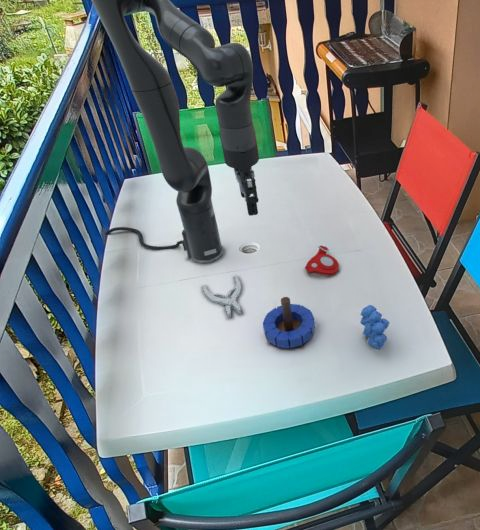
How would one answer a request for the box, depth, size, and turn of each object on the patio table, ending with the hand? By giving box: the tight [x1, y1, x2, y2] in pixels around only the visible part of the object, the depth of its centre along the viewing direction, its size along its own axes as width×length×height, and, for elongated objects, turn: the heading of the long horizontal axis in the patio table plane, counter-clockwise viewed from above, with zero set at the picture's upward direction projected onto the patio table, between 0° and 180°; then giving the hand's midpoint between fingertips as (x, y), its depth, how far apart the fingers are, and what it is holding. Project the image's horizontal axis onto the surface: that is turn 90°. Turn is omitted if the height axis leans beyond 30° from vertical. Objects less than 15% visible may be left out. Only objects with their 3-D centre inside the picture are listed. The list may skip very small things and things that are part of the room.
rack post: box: [270, 296, 304, 347], centre depth 121 cm, size 8×8×12 cm
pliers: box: [202, 275, 243, 319], centre depth 133 cm, size 10×2×15 cm
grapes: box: [359, 304, 390, 350], centre depth 119 cm, size 12×7×12 cm, turn 23°
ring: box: [262, 303, 316, 349], centre depth 123 cm, size 12×12×3 cm
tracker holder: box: [304, 244, 340, 276], centre depth 144 cm, size 12×4×10 cm
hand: (249, 205), depth 119 cm, fingers open, 8 cm apart
